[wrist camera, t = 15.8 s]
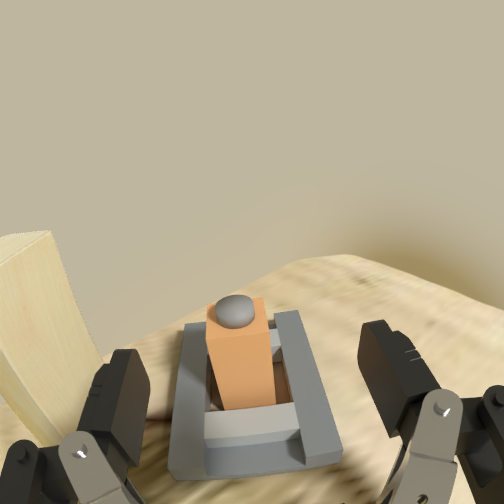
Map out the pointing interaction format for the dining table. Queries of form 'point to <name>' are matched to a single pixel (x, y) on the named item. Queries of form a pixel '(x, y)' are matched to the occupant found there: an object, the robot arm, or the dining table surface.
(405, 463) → the robot arm
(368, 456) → the dining table surface
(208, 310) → the orange block with knob
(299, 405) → the frame
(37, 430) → the pale yellow tall block
